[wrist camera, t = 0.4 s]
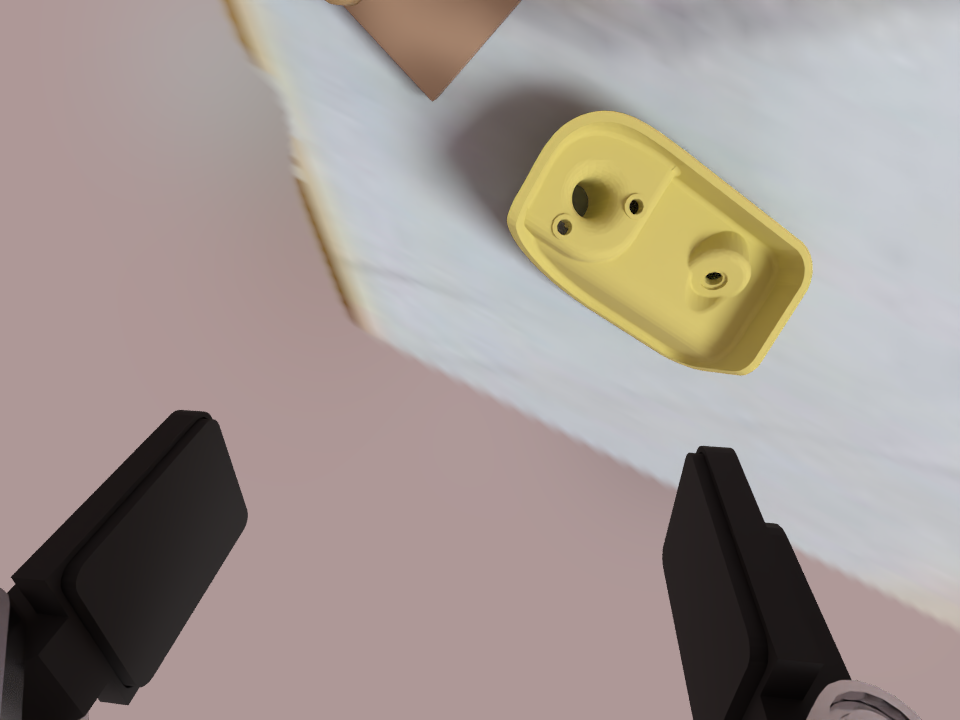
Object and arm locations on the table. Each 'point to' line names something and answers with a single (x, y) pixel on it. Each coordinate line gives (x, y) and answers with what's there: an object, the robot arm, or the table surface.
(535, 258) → the plastic component
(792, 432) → the table surface
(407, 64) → the pin board
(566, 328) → the table surface
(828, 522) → the table surface
